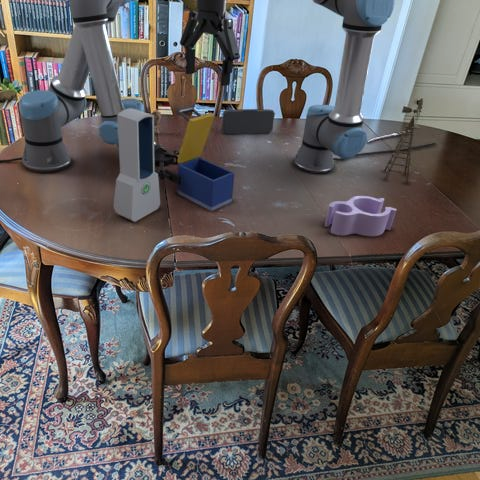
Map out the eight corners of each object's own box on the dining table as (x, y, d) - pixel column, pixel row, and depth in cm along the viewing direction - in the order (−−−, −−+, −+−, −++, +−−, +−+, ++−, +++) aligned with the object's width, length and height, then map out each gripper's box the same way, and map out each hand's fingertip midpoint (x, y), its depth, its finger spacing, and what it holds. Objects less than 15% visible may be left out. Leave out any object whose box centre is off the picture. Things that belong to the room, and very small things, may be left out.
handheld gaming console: (270, 130, 208) (273, 108, 202) (272, 133, 206) (275, 110, 200) (221, 132, 201) (222, 109, 195) (222, 134, 199) (224, 111, 193)
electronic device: (132, 223, 132) (128, 120, 116) (113, 215, 135) (106, 113, 119) (161, 207, 141) (161, 110, 125) (142, 199, 144) (140, 103, 128)
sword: (405, 131, 224) (406, 128, 224) (410, 133, 222) (411, 130, 222) (362, 142, 208) (362, 140, 208) (367, 144, 206) (368, 142, 206)
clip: (337, 240, 135) (342, 219, 131) (318, 218, 145) (322, 198, 141) (395, 233, 141) (402, 213, 137) (373, 213, 151) (378, 194, 147)
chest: (231, 201, 149) (234, 172, 144) (211, 211, 143) (213, 181, 137) (198, 184, 157) (199, 157, 151) (177, 193, 150) (177, 164, 145)
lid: (214, 115, 140) (196, 100, 143) (192, 121, 134) (173, 105, 136) (200, 156, 151) (184, 141, 153) (179, 163, 144) (162, 148, 147)
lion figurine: (159, 130, 196) (159, 108, 191) (162, 134, 192) (162, 113, 187) (124, 131, 191) (123, 109, 186) (126, 135, 187) (125, 113, 182)
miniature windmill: (407, 184, 173) (433, 103, 157) (384, 180, 174) (407, 99, 158) (405, 174, 181) (429, 96, 164) (383, 170, 182) (405, 93, 165)
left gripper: (177, 155, 170) (220, 174, 159) (122, 173, 153) (165, 196, 142) (178, 135, 166) (222, 154, 155) (121, 151, 149) (166, 174, 138)
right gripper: (258, 1, 115) (249, 88, 127) (188, -13, 128) (185, 67, 139) (239, 1, 110) (231, 92, 122) (167, -13, 123) (167, 70, 134)
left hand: (195, 174), depth 149 cm, fingers open, 13 cm apart
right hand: (207, 79), depth 131 cm, fingers open, 13 cm apart
